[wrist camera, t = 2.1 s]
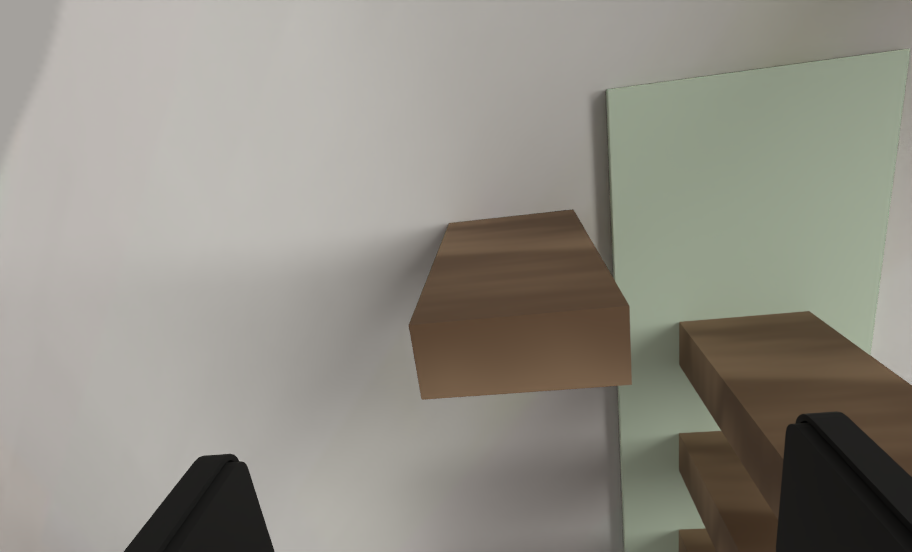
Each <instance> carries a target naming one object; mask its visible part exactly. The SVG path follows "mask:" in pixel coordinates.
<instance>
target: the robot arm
mask: <svg viewBox="0 0 912 552" xmlns="http://www.w3.org/2000/svg"><path fill="white" fill-rule="evenodd" d="M124 552H274V549H273V546H272V542H271V539H270V536H269V533H268V530H267V527H266V524H265V520H264V517H263V514H262V511H261V508H260V505H259V501H258V498H257V495H256V492H255V489H254V486H253V483H252V479H251V476H250V473H249V470H248V467H247V465H246V464H245V463H244V462H239V460H238V458H237V457H236V456H235V455H233V454H223V455H208V456H202V457H199V458H198V459H197V460H196V461H195V462H194V463H193V464H192V466H191V467H190V468H189V469H188V471H187V472H186V473H185V474H184V476H183V477H182V478H181V480H180V481H179V482H178V483H177V485H176V486H175V487H174V488H173V490H172V491H171V492H170V494H169V495H168V496H167V497H166V499H165V500H164V501H163V502H162V504H161V505H160V506H159V507H158V509H157V510H156V511H155V513H154V514H153V515H152V516H151V518H150V519H149V520H148V521H147V523H146V524H145V525H144V526H143V528H142V529H141V530H140V532H139V533H138V534H137V535H136V537H135V538H134V539H133V540H132V542H131V543H130V544H129V546H128V547H127V548H126V549H125V551H124ZM776 552H912V477H911V476H910V475H909V474H908V473H907V472H906V471H905V470H904V469H903V468H902V467H901V466H900V465H899V464H897V463H896V462H895V461H894V460H893V459H892V458H891V457H890V456H889V455H888V454H887V453H886V452H885V451H884V450H883V449H882V448H880V447H879V446H878V445H877V444H876V443H875V442H874V441H873V440H872V439H871V438H870V437H869V436H868V435H867V434H866V433H865V432H864V431H862V430H861V429H860V428H859V427H858V426H857V425H856V424H855V423H854V422H853V421H852V420H851V419H850V418H849V417H848V416H846V415H845V414H843V413H842V412H838V411H835V412H821V413H807V414H801V415H799V416H798V417H797V419H796V423H795V424H789V425H788V426H787V428H786V434H785V446H784V458H783V470H782V481H781V493H780V505H779V516H778V528H777V540H776Z"/></svg>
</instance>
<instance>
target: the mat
mask: <svg viewBox="0 0 912 552" xmlns="http://www.w3.org/2000/svg"><path fill="white" fill-rule="evenodd" d="M909 57H910V49H902V50H894V51H887V52H880V53H872V54H865V55H858V56H850V57H843V58H835V59H828V60H821V61H813V62H806V63H799V64H791V65H784V66H776V67H769V68H762V69H754V70H747V71H739V72H732V73H725V74H717V75H710V76H703V77H695V78H688V79H680V80H673V81H666V82H658V83H651V84H643V85H636V86H629V87H621V88H614V89H607V90H606V105H607V130H608V156H609V181H610V207H611V233H612V258H613V278H614V280H615V282H616V284H617V285H618V287H619V289H620V290H621V292H622V294H623V296H624V297H625V299H626V301H627V302H628V304H629V306H630V340H631V374H632V385H622V386H618V412H619V437H620V463H621V489H622V514H623V540H624V552H679V529H704V528H705V526H704V524H703V522H702V519H701V517H700V515H699V513H698V511H697V509H696V506H695V504H694V502H693V500H692V498H691V496H690V493H689V491H688V489H687V487H686V485H685V483H684V480H683V478H682V476H681V474H680V472H679V433H691V432H708V431H721V430H720V428H719V427H718V425H717V423H716V422H715V420H714V419H713V417H712V416H711V414H710V412H709V411H708V409H707V408H706V406H705V405H704V403H703V401H702V400H701V398H700V397H699V395H698V394H697V392H696V390H695V389H694V387H693V386H692V384H691V383H690V381H689V380H688V378H687V376H686V375H685V373H684V372H683V370H682V369H681V367H680V365H679V322H683V321H695V320H707V319H719V318H731V317H743V316H755V315H767V314H779V313H791V312H803V311H810V312H811V313H813V314H814V315H815V316H817V317H818V318H819V319H821V320H822V321H824V322H825V323H826V324H828V325H829V326H830V327H832V328H833V329H835V330H836V331H837V332H839V333H840V334H841V335H843V336H844V337H846V338H847V339H848V340H850V341H851V342H852V343H854V344H855V345H857V346H858V347H859V348H861V349H862V350H863V351H865V352H866V353H868V354H869V355H870V354H871V347H872V339H873V331H874V324H875V316H876V309H877V301H878V293H879V286H880V278H881V270H882V263H883V255H884V247H885V240H886V232H887V225H888V217H889V209H890V202H891V194H892V186H893V179H894V171H895V163H896V156H897V148H898V141H899V133H900V125H901V118H902V110H903V102H904V95H905V87H906V79H907V72H908V64H909Z"/></svg>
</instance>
